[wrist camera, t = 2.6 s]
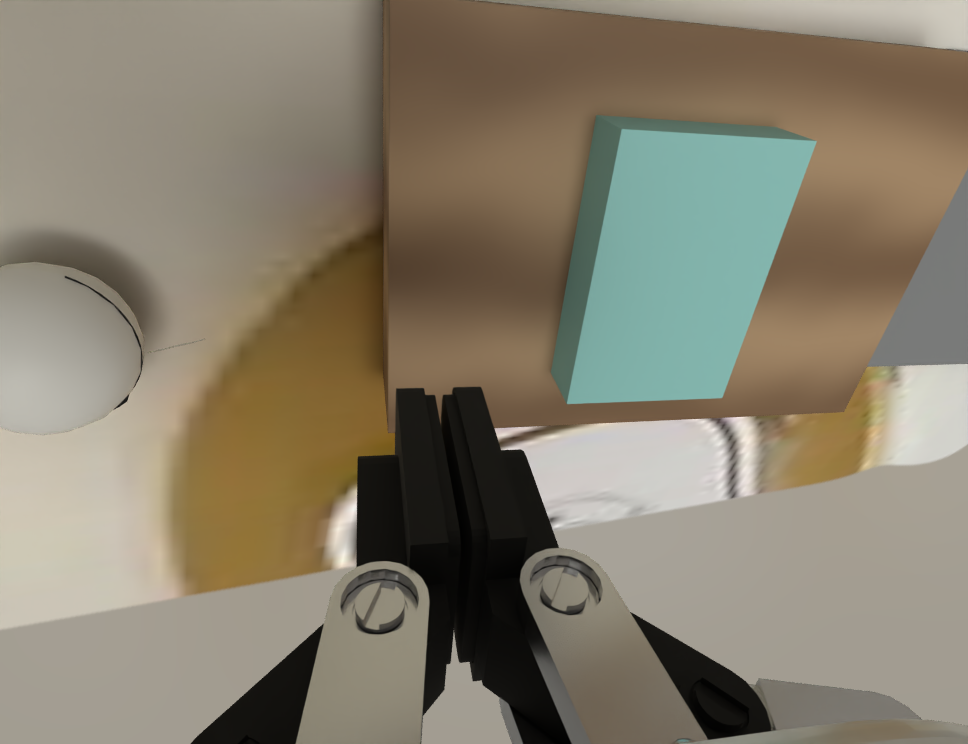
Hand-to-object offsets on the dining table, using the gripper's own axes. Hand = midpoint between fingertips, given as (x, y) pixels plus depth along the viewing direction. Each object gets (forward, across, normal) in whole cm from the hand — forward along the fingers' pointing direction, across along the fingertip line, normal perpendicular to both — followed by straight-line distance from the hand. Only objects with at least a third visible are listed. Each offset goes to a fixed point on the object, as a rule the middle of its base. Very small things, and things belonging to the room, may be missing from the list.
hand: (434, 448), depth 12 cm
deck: (+13, -9, -1) cm, 16 cm away
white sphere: (+13, +11, +3) cm, 17 cm away
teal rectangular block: (+9, -8, -1) cm, 12 cm away
